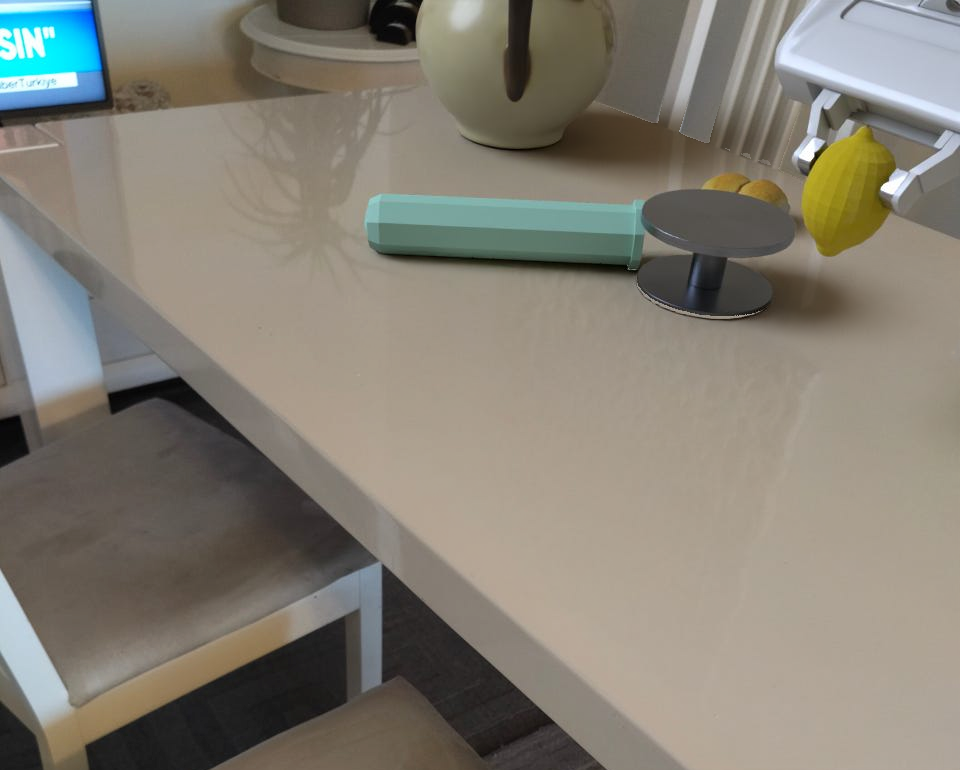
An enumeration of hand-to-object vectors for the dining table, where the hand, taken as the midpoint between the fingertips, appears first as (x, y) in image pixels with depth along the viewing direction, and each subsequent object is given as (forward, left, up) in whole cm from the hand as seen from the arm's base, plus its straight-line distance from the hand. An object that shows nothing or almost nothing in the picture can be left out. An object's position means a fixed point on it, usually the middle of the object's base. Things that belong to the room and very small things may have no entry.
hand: (843, 187), depth 61 cm
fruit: (0, -1, -5) cm, 5 cm away
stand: (+12, -17, -16) cm, 26 cm away
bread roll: (+15, -35, -16) cm, 42 cm away
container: (+30, -12, -16) cm, 37 cm away
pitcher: (+46, -43, -16) cm, 65 cm away
